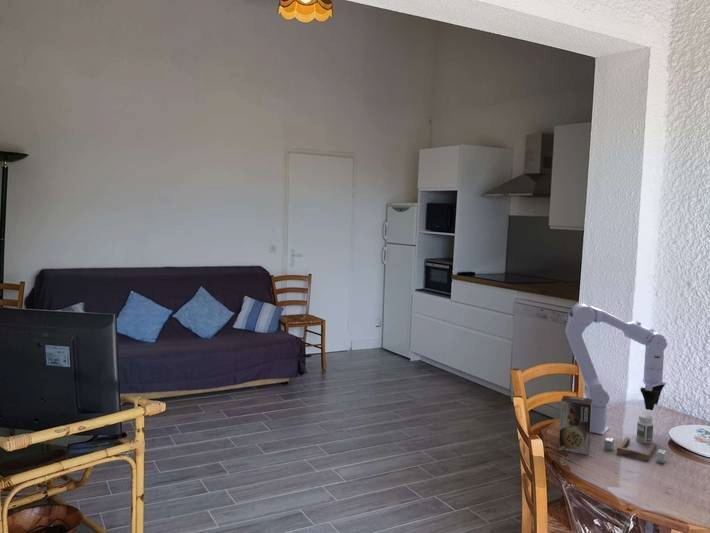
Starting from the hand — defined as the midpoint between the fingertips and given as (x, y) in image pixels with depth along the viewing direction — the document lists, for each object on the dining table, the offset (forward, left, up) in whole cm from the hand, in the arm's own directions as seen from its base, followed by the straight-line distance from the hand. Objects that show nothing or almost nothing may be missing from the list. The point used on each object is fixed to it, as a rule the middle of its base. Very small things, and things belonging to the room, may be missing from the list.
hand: (651, 406), depth 205 cm
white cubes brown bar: (0, -20, -10) cm, 22 cm away
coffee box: (-16, -31, -10) cm, 37 cm away
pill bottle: (0, -8, -10) cm, 13 cm away
